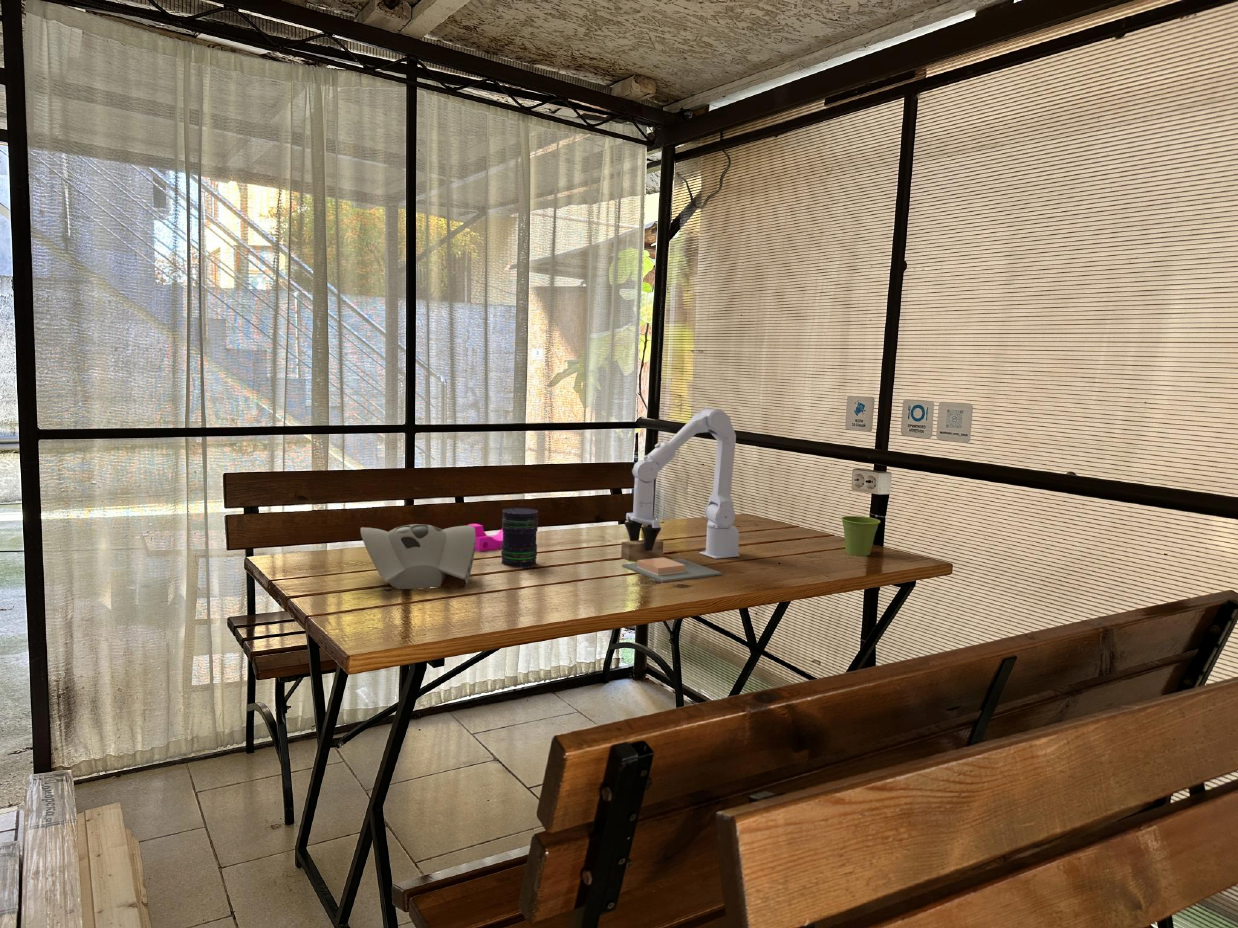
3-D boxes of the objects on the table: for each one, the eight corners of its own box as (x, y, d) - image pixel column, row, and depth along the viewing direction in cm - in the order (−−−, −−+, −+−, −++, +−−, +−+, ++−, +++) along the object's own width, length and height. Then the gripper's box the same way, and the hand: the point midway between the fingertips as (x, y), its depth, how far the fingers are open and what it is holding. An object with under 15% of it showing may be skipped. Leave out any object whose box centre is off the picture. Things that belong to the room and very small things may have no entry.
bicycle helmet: (463, 557, 232) (468, 505, 226) (481, 608, 210) (487, 552, 204) (354, 561, 222) (357, 506, 216) (362, 615, 200) (365, 556, 194)
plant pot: (835, 556, 264) (838, 520, 263) (841, 549, 275) (843, 514, 274) (875, 560, 260) (878, 524, 258) (879, 553, 271) (882, 518, 269)
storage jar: (544, 564, 237) (545, 511, 236) (516, 569, 230) (518, 515, 229) (520, 558, 244) (522, 506, 242) (493, 563, 237) (494, 509, 235)
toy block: (479, 553, 249) (479, 527, 248) (467, 549, 254) (468, 524, 253) (521, 547, 259) (522, 523, 258) (509, 543, 264) (509, 519, 263)
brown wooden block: (654, 555, 256) (655, 538, 255) (662, 558, 253) (663, 541, 252) (620, 558, 249) (621, 541, 249) (628, 561, 246) (629, 544, 246)
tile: (663, 557, 241) (637, 560, 236) (685, 565, 233) (658, 568, 228) (663, 564, 241) (637, 567, 236) (685, 572, 233) (658, 575, 228)
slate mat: (680, 560, 250) (680, 558, 250) (721, 574, 234) (721, 572, 234) (622, 566, 239) (622, 564, 239) (662, 582, 223) (662, 580, 223)
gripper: (618, 498, 253) (616, 544, 254) (646, 506, 241) (644, 554, 242) (638, 497, 257) (636, 542, 258) (666, 505, 245) (664, 552, 246)
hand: (641, 548), depth 250 cm, fingers open, 7 cm apart
